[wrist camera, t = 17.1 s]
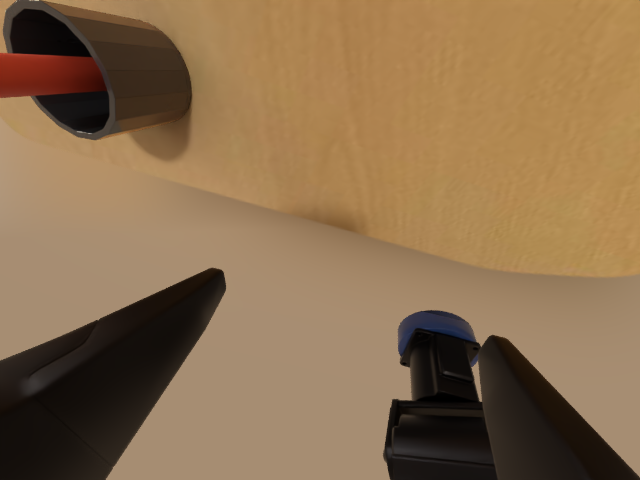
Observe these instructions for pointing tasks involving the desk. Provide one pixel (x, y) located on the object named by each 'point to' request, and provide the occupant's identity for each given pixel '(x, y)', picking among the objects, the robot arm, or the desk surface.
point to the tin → (103, 67)
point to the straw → (48, 75)
